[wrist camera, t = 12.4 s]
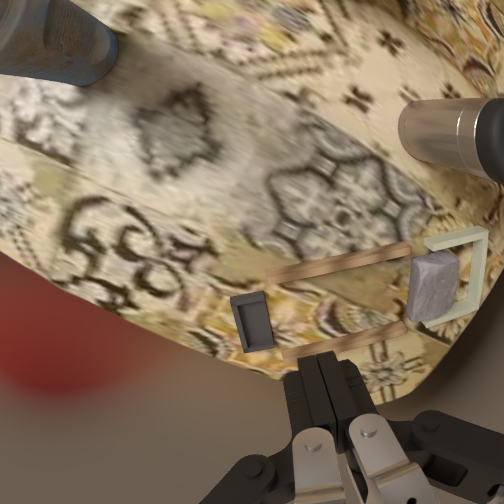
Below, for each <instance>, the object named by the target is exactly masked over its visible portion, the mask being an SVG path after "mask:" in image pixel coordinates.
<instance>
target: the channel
mask: <svg viewBox="0 0 504 504" xmlns="http://www.w3.org/2000/svg"><path fill="white" fill-rule="evenodd" d="M410 254H411V247H410V246H409V245H407V244H406V243H405V242H404V241H403V242H398V243H394V244H389V245H384V246H380V247H375V248H371V249H366V250H361V251H357V252H352V253H347V254H343V255H338V256H333V257H328V258H324V259H319V260H314V261H309V262H304V263H300V264H295V265H290V266H285V267H280V268H275V269H270V270H266V274H267V279H268V283H269V285H274V284H279V283H283V282H288V281H293V280H298V279H303V278H308V277H312V276H317V275H322V274H326V273H331V272H336V271H340V270H345V269H349V268H354V267H358V266H363V265H367V264H371V263H376V262H380V261H384V260H389V259H393V258H397V257H401V256H406V255H410ZM404 334H407V328H406V326H405V325H404V324H403V322H402V321H398V322H394V323H391V324H387V325H384V326H380V327H377V328H373V329H369V330H365V331H362V332H358V333H354V334H350V335H346V336H342V337H338V338H334V339H330V340H325V341H321V342H317V343H312V344H308V345H303V346H298V347H294V348H289V349H284V350H281V351H282V357H283V362H284V365H285V364H290V363H295V362H297V358H301V357H305V356H310V355H316V354H318V353H323V352H327V351H331V350H333V351H334V353H339V352H343V351H347V350H350V349H354V348H358V347H362V346H366V345H369V344H373V343H376V342H380V341H383V340H387V339H390V338H394V337H397V336H400V335H404Z"/></svg>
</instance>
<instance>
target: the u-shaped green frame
mask: <svg viewBox="0 0 504 504" xmlns="http://www.w3.org/2000/svg"><path fill="white" fill-rule="evenodd" d="M488 234H489V230H487V229H485V228H483V227H481V226H479V225H477V226H473V227H469V228H464V229H460V230H456V231H452V232H447V233H443V234H439V235H434V236H430V237H426V238H424V245H425V246H426V247H428V248H429V249H430V250H432V251H437V250H441V249H445V248H449V247H453V246H457V245H461V244H464V243H468V242H472V241H473V250H472V261H471V270H470V279H469V286H468V293H467V298H466V299H463V300H461V301H458V302H455V303H453V304H452V306H451V307H450V309H448V310H447V312H446V313H445V314H443V315H441V316H439V317H436V318H432V319H428V320H424V321H421V322H422V323H423V324H424V325H425V327H426V328H429V327H432V326H435V325H437V324H440V323H443V322H446V321H449V320H452V319H454V318H457V317H460V316H462V315H465V314H468V313H470V312H473V311H476V310H478V309H479V304H480V298H481V292H482V286H483V279H484V272H485V264H486V256H487V246H488Z"/></svg>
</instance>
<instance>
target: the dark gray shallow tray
mask: <svg viewBox="0 0 504 504" xmlns="http://www.w3.org/2000/svg"><path fill="white" fill-rule="evenodd" d="M230 303H231V307H232V311H233V315H234V318H235V322H236V326H237V329H238V333H239V337H240V340H241V344H242V348H243V351H244V353H249V352H254V351H260V350H265V349H271V348H274V342H273V337H272V332H271V327H270V322H269V317H268V313H267V308H266V303H265V298H264V293H263V291H259V292H253V293H248V294H243V295H238V296H233V297H230Z"/></svg>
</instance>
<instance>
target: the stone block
mask: <svg viewBox="0 0 504 504" xmlns="http://www.w3.org/2000/svg"><path fill="white" fill-rule="evenodd" d="M459 262H460V261H459V260H458V258H457V257H456V256H455V255H453V254H452V253H450V252H447V251H446V252H445V251H437V252H435V253H432V254H430V255H422V256H419V257H415V258H413V259H412V264H411V274H410V284H409V291H408V299H407V306H406V314H407V317H408V318H409V320H411V321H412V322H419V321H424V320H428V319H432V318H436V317H439V316H441V315H443V314H445V313H446V312H447V310H448V309H450V307H451V306H452V304H453V298H454V295H455V292H456V287H457V279H458V270H459Z"/></svg>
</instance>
